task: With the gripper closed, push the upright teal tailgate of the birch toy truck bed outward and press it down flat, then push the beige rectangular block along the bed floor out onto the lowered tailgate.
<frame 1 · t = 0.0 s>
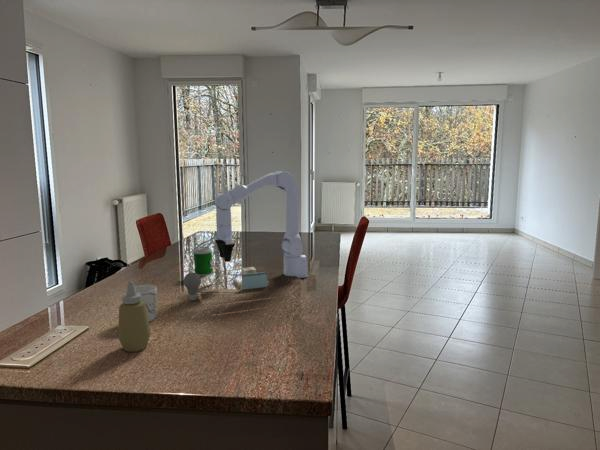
hand: (225, 259, 173), 10 cm above the kitchen island, fingers open, 7 cm apart
mug: (140, 321, 136), on the kitchen island
soda can: (204, 276, 187), on the kitchen island
beige rectangular block: (249, 282, 173), point 1 cm above the kitchen island, touching bed
bed: (250, 286, 171), on the kitchen island
tailgate: (254, 281, 165), point 4 cm above the kitchen island, hinge at 0.0°
squeeze bottle: (135, 348, 117), on the kitchen island
light bulb: (193, 300, 156), on the kitchen island
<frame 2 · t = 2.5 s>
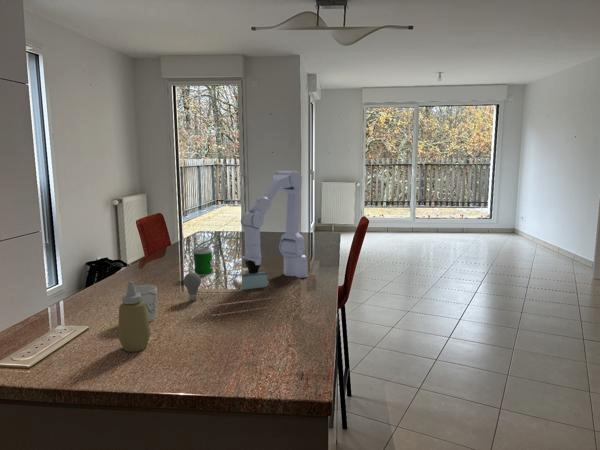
hand: (253, 279, 166), 4 cm above the kitchen island, fingers closed, pressing on tailgate
tailgate: (254, 281, 165), point 4 cm above the kitchen island, hinge at 1.6°, touching gripper
everything else where it was.
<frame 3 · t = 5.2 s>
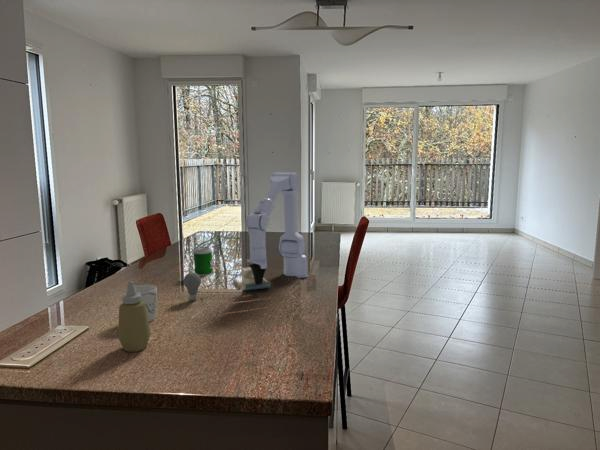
hand: (258, 283, 160), 4 cm above the kitchen island, fingers closed, pressing on tailgate
tailgate: (256, 286, 163), point 2 cm above the kitchen island, hinge at 57.0°, touching gripper
everything else where it was.
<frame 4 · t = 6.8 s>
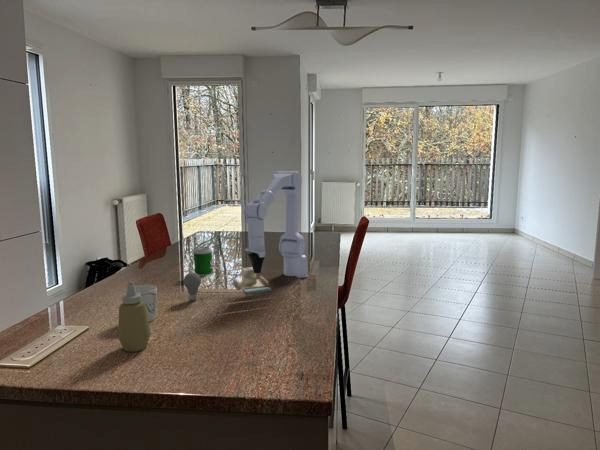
hand: (257, 272, 161), 8 cm above the kitchen island, fingers closed
tailgate: (257, 290, 163), point 1 cm above the kitchen island, hinge at 81.6°
everything else where it was.
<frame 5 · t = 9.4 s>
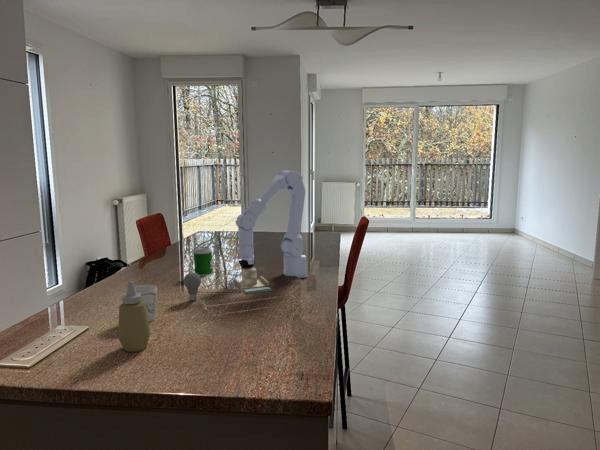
hand: (247, 278, 176), 2 cm above the kitchen island, fingers closed
beige rectangular block: (249, 283, 172), point 1 cm above the kitchen island, touching bed, gripper
everything else where it was.
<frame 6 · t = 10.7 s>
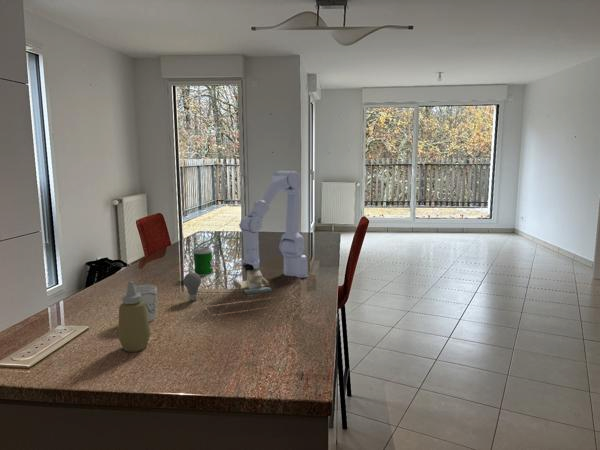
hand: (252, 283, 169), 2 cm above the kitchen island, fingers closed
beige rectangular block: (253, 285, 166), point 2 cm above the kitchen island, tilted 16°, touching gripper
everything else where it was.
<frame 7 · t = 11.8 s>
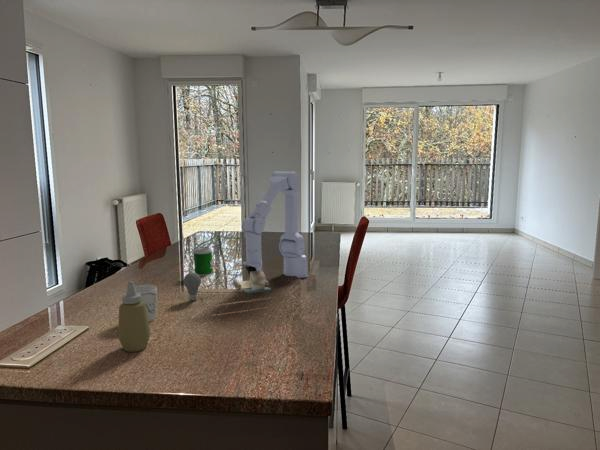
hand: (254, 285, 166), 2 cm above the kitchen island, fingers closed
beige rectangular block: (256, 286, 163), point 2 cm above the kitchen island, tilted 16°, touching gripper, tailgate
tailgate: (257, 290, 163), point 1 cm above the kitchen island, hinge at 82.1°, touching beige rectangular block
everything else where it was.
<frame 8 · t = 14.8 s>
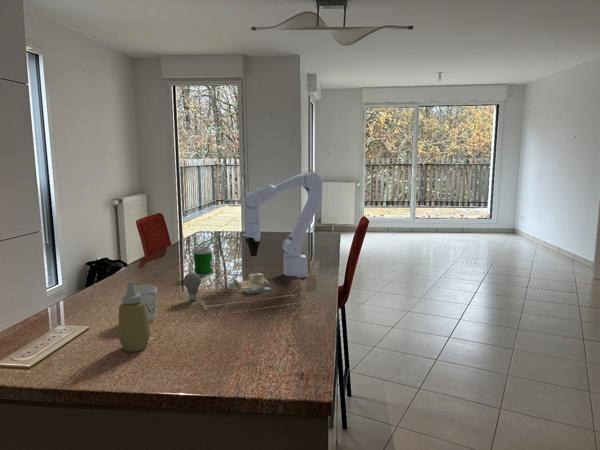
hand: (253, 255, 180), 10 cm above the kitchen island, fingers closed
beige rectangular block: (257, 289, 163), point 1 cm above the kitchen island, tilted 8°, touching tailgate
everything else where it was.
at the end: tailgate at +82° (first picture: +0°); beige rectangular block inside the target area on the kitchen island beside the tailgate (1.0 cm from its centre), point 0.9 cm above the kitchen island; beige rectangular block tilted 8° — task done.
